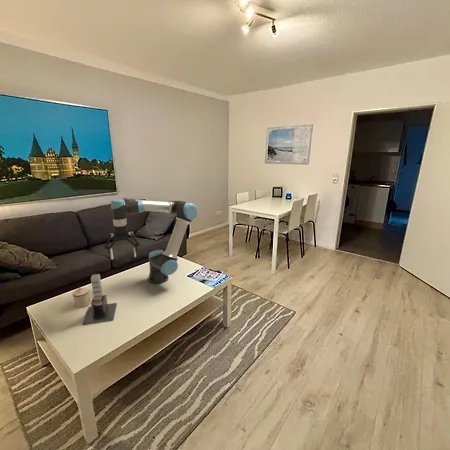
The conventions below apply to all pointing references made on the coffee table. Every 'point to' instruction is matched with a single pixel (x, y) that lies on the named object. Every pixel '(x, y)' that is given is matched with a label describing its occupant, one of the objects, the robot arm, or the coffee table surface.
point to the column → (97, 288)
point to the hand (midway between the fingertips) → (123, 257)
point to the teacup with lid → (81, 297)
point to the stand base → (100, 312)
